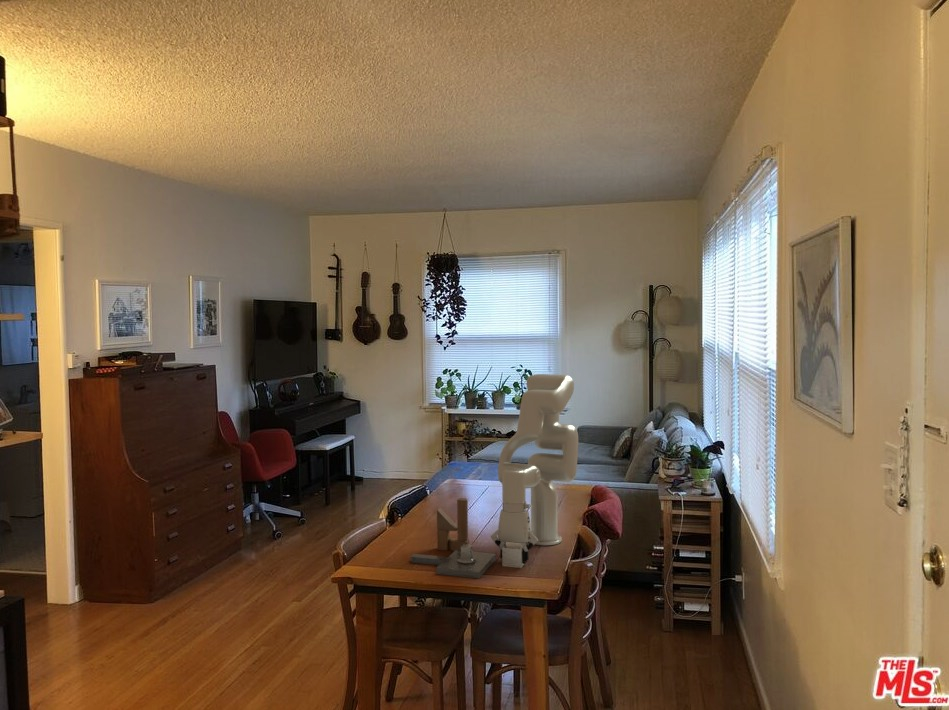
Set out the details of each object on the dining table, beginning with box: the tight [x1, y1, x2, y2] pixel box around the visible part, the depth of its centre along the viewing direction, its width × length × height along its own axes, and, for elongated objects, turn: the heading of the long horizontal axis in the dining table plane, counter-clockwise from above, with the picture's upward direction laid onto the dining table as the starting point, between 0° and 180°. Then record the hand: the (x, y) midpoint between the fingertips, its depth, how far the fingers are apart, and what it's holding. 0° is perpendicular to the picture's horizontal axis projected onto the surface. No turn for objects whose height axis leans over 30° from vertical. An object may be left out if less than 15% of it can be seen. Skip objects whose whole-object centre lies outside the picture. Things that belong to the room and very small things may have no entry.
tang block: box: [410, 544, 497, 580], centre depth 223 cm, size 18×26×7 cm
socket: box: [501, 542, 525, 569], centre depth 223 cm, size 6×6×6 cm
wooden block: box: [436, 497, 470, 552], centre depth 238 cm, size 4×11×18 cm, turn 76°
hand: (514, 560), depth 223 cm, fingers closed on socket, 6 cm apart
